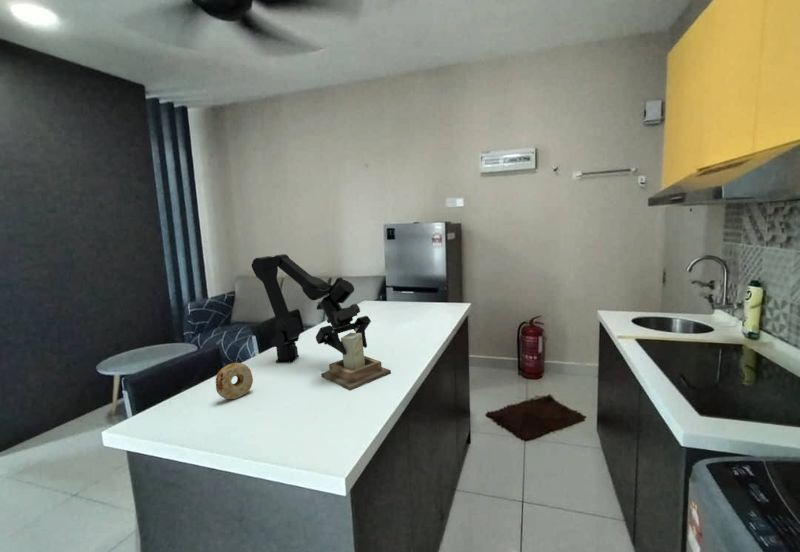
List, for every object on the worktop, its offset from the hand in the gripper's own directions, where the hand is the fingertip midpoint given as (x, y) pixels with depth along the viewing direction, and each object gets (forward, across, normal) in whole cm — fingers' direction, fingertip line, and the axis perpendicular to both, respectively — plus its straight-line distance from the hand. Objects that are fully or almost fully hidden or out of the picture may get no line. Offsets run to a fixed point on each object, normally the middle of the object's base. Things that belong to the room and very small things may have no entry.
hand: (356, 350), depth 121 cm
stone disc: (-5, -32, +18) cm, 37 cm away
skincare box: (+4, 0, +6) cm, 8 cm away
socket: (+5, 0, +7) cm, 8 cm away
